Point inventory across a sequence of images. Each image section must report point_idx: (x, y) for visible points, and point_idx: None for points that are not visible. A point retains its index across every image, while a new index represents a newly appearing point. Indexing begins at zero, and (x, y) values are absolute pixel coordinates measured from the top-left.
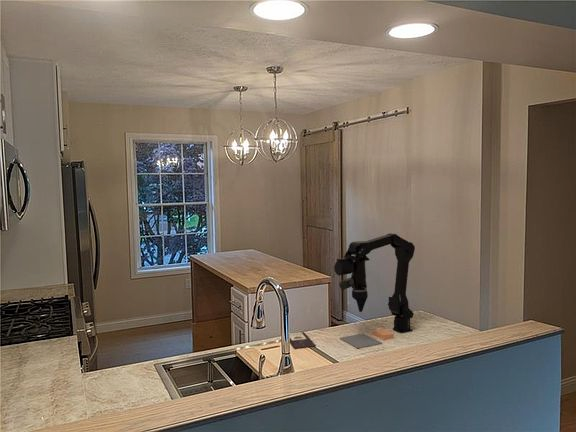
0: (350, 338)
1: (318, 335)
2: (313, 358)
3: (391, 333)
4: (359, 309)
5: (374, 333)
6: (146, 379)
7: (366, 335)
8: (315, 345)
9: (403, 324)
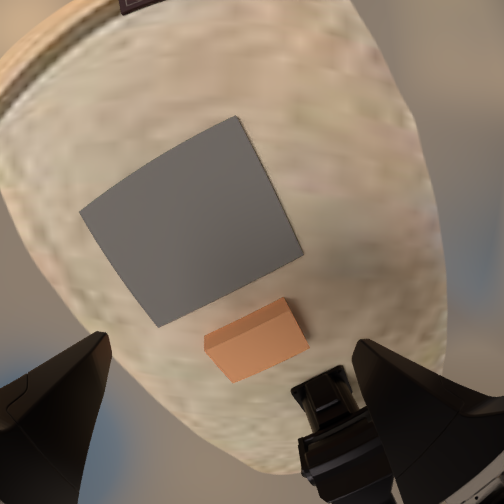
0: (218, 178)
1: (296, 22)
2: (12, 48)
3: (233, 376)
4: (79, 350)
5: (274, 309)
6: None
7: (265, 268)
8: (121, 11)
9: (308, 415)
